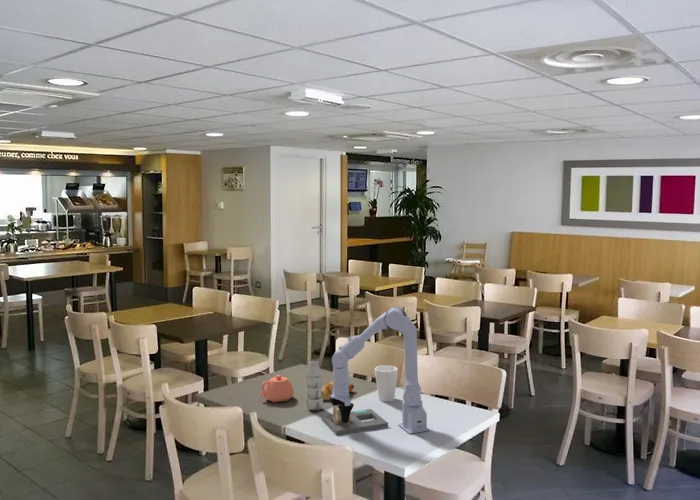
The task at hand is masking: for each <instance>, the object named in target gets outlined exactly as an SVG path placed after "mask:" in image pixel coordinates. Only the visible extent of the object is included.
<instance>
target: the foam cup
mask: <svg viewBox="0 0 700 500" xmlns="http://www.w3.org/2000/svg"><path fill="white" fill-rule="evenodd" d="M398 370H399V369H398V367H396V366H394V365H378V366H376V367H375V368H374V375H375V381H376V389H377V395H378V401H380V402H384V403H389V402H394V401H395V397H396V389H397V388H396V387H397V380H398V375H399V371H398Z"/></svg>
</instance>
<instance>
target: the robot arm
mask: <svg viewBox="0 0 700 500" xmlns="http://www.w3.org/2000/svg"><path fill="white" fill-rule="evenodd" d="M388 328H390V329H393V330H395V331H397V332H399V333H400V334H402V336H403V339H404V340H403V341H404V342H403V344H404V345H403V346H404V347H403V348H404V372H405V373H404V377H405V381H404V383H405V385H404V387H403V395H402V399H403V400H402V402H401V403H402V404H401V405H402V406H401V407H402V409H401V410H402V411H401V413H402V414H401V415H402V416H401V417H402V422H400V423H398V426H399V427H400V428H401V429H403V431H405V432H406V433H407V434H411V435H412V434H417V433H423V432H428V431H430V429H429V428H428V425H427V423H428V422H427V420H428V419H427V414H428V413H427V412H426V410H425V409H424V407H423V400H422V395H421V393H422V390H421V389H422V388H421V386H420V384H419V376H418V375H419V373H418V371H419V370H418V340H417V337H418V335H417V334H418V333H417V326H415V324H414V323H413V320H411V318H410V317H409V316H408V314H407V312H406V311H405V310H403V309H402V308H401V307H398V306H392V307H390V308H389V309H387V311H385V312H383V313H382V314H381V315H380V316H378V317H377V318H375V320H374V321H373V322H371V324H370V325H368V326H367V327H366V328H365V329H364V330H363V331H362V333H360V334H359V335H353V336H349V337H348V338H347V341H346V342H345V343H344V344H343V345H340V346H339V347H338V349H337V350H336V351H334V353H333V355H332V356H331V363H332V367H333V368H332V369H333V370H332V381H333V389H332V394H333V395H330V397H329V398H330V400H329V401H330V402H331V404H332V407H333V406H335V405H338V407H339V410H340V413H341V420H342V423H347V422H348V421H349V416H350V412H352V409H353V408H354V405H355V404H354V403H351V402H352V400H351V397H350V393H349V384H350V382H349V380H350V378H349V376H350V375H349V373H350V371H349V360H352V359H354V358H355V357H356V355H358V354H359V353H360V352H361V351H362V350H363V349H364V348H365V343H366V342H368V340H369V339H371V338H372V337H373V336H374V335H376V333H378V332H379V331H380V330H388Z"/></svg>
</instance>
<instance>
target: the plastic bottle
mask: <svg viewBox="0 0 700 500" xmlns="http://www.w3.org/2000/svg"><path fill="white" fill-rule="evenodd" d="M319 364H320V362H319V359H318V358H311V359H309V363H308V365H309V367H307V369H306V371H305V377H306V383H307V396H306V397H307V398H306V407H307V409H308V410H309V411H310V410H311V411H320V410H322V409H323V407H324V400H323V398H322V391H321V389H322V382H323V381H322V380H323V370H322V369H321V367H320V366H319Z"/></svg>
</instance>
